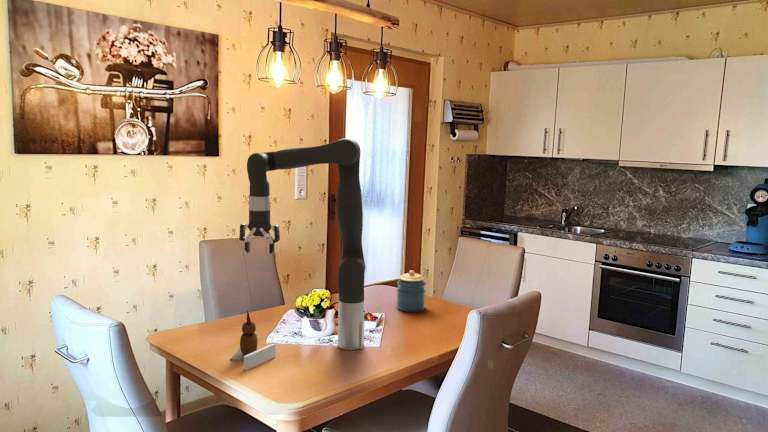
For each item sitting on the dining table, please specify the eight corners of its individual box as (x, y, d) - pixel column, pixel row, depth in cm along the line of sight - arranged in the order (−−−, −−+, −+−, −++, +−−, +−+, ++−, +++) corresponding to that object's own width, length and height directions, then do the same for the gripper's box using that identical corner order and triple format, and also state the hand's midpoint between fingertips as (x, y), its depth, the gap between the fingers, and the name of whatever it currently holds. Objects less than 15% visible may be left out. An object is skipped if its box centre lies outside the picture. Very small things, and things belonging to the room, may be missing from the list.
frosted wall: (272, 355, 194) (272, 343, 194) (275, 356, 194) (275, 344, 193) (243, 369, 182) (243, 356, 182) (246, 370, 182) (246, 357, 181)
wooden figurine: (241, 350, 197) (241, 309, 195) (258, 350, 197) (258, 309, 195) (238, 358, 190) (238, 315, 188) (256, 358, 191) (256, 315, 189)
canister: (406, 302, 264) (407, 265, 261) (430, 307, 256) (431, 269, 254) (390, 308, 253) (391, 270, 251) (414, 314, 246) (416, 275, 243)
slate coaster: (267, 351, 198) (267, 349, 198) (259, 362, 188) (259, 360, 188) (240, 349, 199) (240, 348, 199) (230, 360, 189) (230, 359, 189)
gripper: (236, 209, 199) (237, 254, 201) (276, 210, 198) (276, 255, 200) (243, 206, 206) (244, 250, 209) (281, 208, 205) (281, 251, 207)
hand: (259, 252), depth 204 cm, fingers open, 8 cm apart
